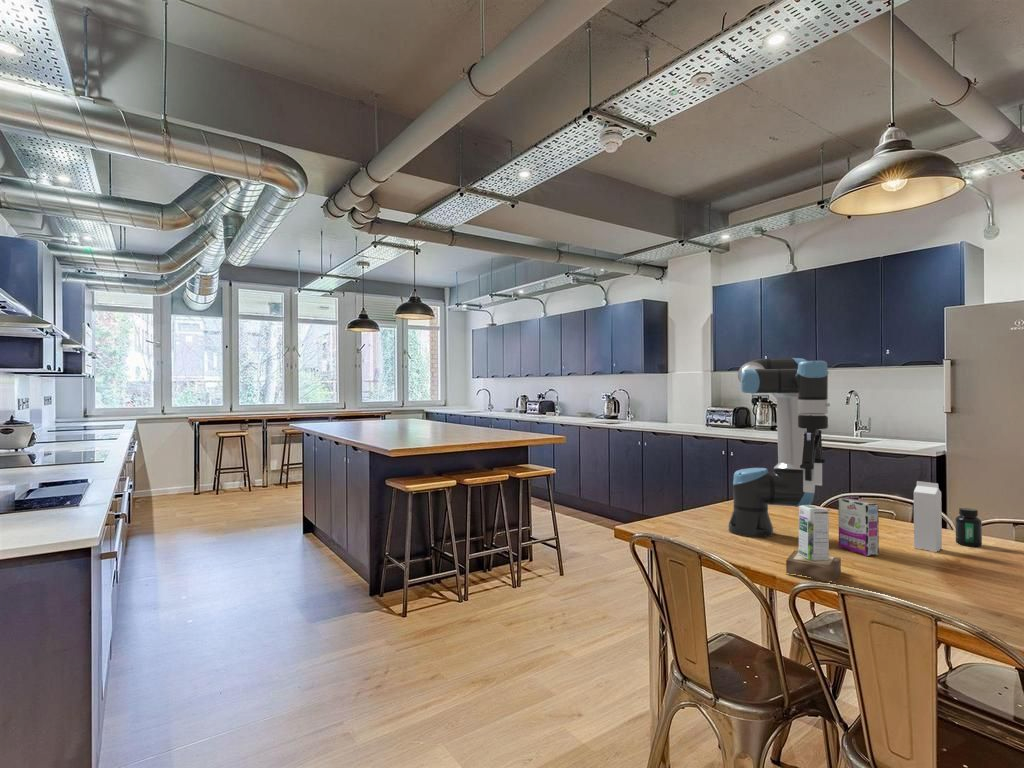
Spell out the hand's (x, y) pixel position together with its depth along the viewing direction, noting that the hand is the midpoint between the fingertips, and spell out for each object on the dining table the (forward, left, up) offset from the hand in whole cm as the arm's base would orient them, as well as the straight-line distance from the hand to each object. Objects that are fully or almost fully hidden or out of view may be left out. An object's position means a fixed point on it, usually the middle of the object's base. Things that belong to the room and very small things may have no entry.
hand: (813, 488), depth 156 cm
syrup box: (0, 0, -20) cm, 20 cm away
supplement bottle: (+37, +65, -24) cm, 78 cm away
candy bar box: (+8, +33, -24) cm, 41 cm away
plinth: (0, 0, -24) cm, 24 cm away
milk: (+26, +50, -24) cm, 61 cm away
